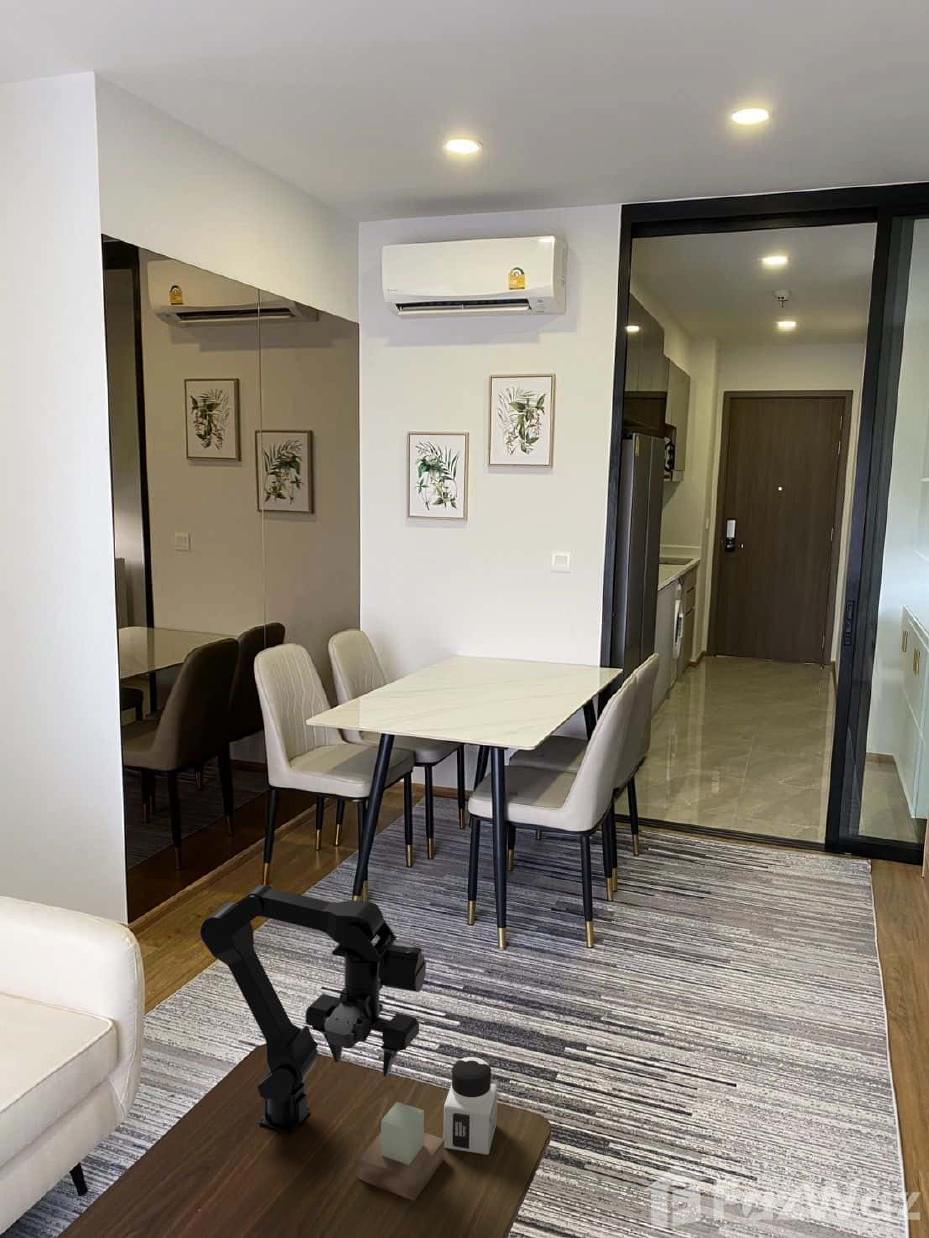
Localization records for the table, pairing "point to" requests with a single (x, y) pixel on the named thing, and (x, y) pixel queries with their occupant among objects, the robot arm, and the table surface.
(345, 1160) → the table surface
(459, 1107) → the container
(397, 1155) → the sage block
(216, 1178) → the table surface
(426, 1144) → the walnut box
